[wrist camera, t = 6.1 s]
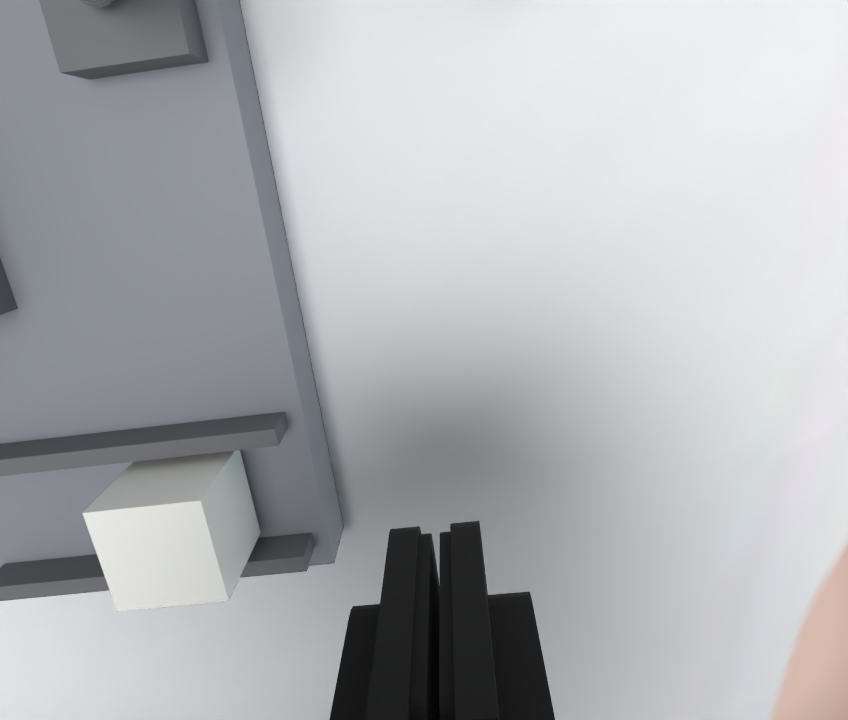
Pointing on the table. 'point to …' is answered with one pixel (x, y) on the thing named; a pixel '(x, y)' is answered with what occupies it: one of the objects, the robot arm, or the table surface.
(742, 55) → the table surface
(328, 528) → the control panel
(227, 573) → the slide switch
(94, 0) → the toggle lever
